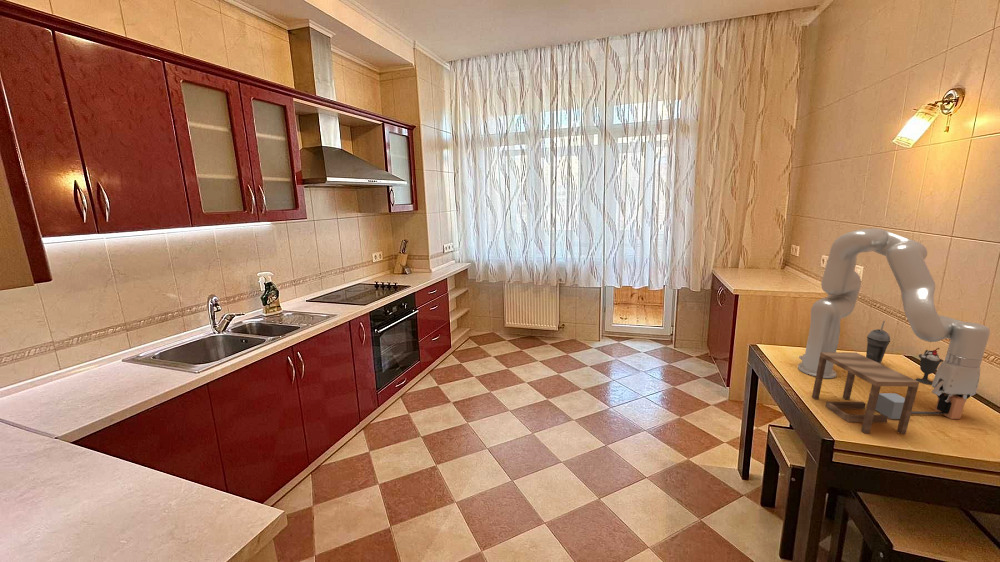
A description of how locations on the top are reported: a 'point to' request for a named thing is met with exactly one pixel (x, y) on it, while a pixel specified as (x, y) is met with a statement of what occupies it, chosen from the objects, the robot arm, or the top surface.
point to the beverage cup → (877, 344)
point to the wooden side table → (878, 378)
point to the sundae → (928, 365)
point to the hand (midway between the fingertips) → (948, 411)
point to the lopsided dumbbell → (894, 404)
